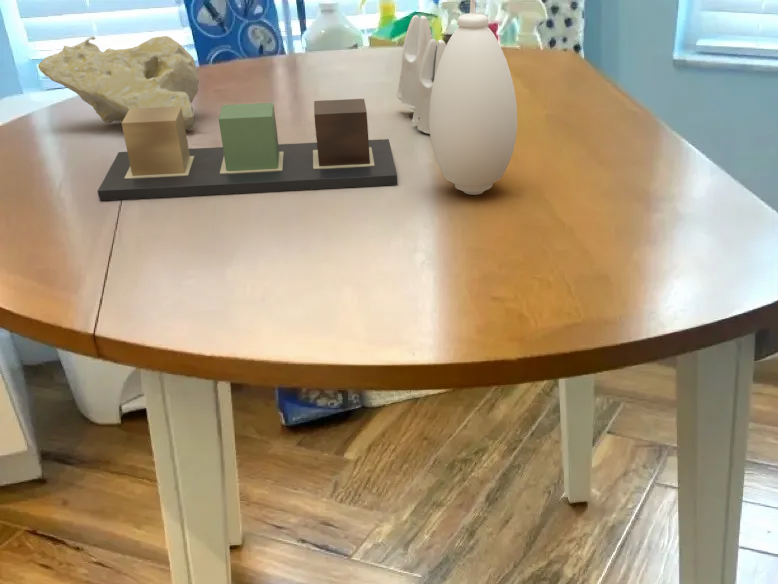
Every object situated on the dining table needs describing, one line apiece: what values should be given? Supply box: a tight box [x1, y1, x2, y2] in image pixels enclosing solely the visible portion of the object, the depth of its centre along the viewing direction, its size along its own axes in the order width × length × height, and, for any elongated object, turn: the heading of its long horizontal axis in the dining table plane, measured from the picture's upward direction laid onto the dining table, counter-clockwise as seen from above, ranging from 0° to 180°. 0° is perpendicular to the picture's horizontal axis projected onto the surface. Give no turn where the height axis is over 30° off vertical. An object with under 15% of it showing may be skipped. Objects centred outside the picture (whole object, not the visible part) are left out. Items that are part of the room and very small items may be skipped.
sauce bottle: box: [429, 0, 518, 196], centre depth 86 cm, size 8×8×18 cm
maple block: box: [120, 107, 190, 175], centre depth 93 cm, size 5×5×5 cm
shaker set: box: [396, 14, 447, 135], centre depth 107 cm, size 12×4×11 cm, turn 18°
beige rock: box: [38, 35, 200, 131], centre depth 110 cm, size 15×7×15 cm
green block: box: [218, 102, 280, 171], centre depth 94 cm, size 5×5×5 cm
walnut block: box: [313, 98, 370, 166], centre depth 95 cm, size 5×5×5 cm
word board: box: [97, 138, 398, 202], centre depth 96 cm, size 28×12×1 cm, turn 97°
